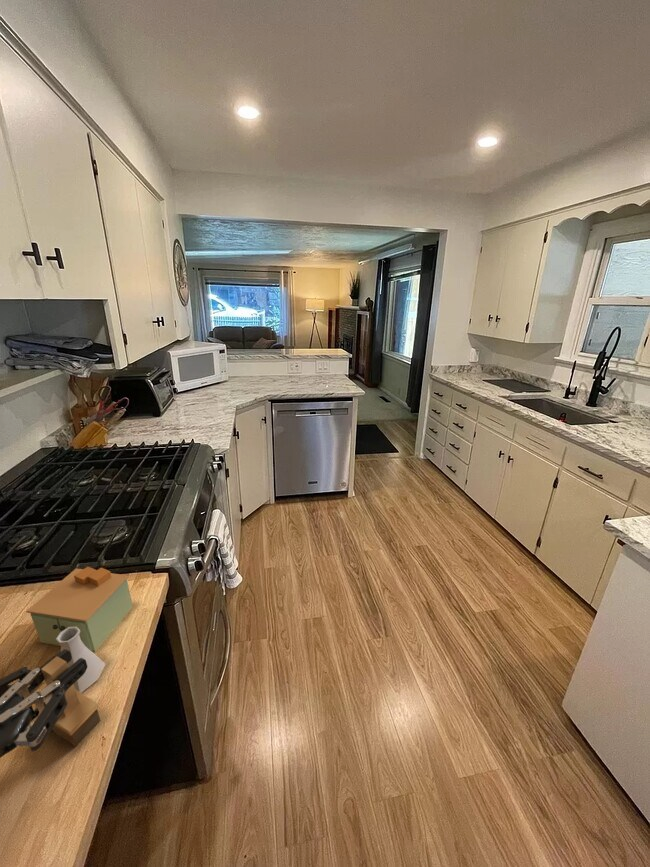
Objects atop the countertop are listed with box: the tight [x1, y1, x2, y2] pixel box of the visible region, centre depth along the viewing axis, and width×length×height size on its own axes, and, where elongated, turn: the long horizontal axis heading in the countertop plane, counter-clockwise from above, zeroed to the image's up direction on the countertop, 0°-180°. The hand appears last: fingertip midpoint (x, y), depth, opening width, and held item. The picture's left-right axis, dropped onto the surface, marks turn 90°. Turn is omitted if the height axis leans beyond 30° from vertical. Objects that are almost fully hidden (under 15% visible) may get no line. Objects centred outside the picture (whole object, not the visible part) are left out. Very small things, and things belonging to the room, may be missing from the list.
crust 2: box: [88, 567, 112, 586], centre depth 74 cm, size 3×3×2 cm
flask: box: [56, 627, 106, 694], centre depth 62 cm, size 7×7×10 cm
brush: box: [41, 656, 101, 748], centre depth 54 cm, size 4×7×13 cm, turn 67°
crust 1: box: [74, 566, 98, 585], centre depth 74 cm, size 3×3×2 cm
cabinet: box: [25, 567, 134, 653], centre depth 72 cm, size 13×12×8 cm
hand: (76, 658), depth 55 cm, fingers open, 3 cm apart
